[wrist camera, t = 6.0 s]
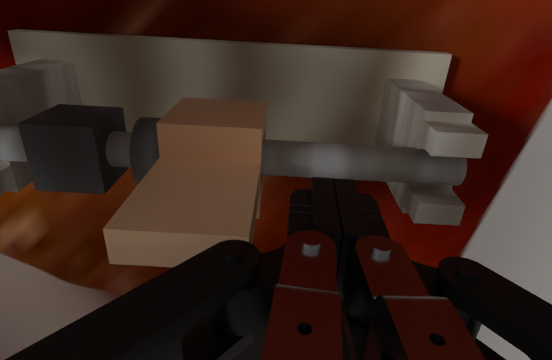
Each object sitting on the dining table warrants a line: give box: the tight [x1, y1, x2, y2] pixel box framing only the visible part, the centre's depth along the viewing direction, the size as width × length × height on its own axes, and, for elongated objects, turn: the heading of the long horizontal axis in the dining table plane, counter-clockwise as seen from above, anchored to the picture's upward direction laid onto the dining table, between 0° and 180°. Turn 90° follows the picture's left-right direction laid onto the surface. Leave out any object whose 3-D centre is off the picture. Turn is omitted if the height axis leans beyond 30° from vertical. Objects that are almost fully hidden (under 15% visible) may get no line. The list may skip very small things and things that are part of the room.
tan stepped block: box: [103, 97, 267, 267], centre depth 14 cm, size 4×4×9 cm
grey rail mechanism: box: [0, 29, 488, 226], centre depth 19 cm, size 26×8×10 cm, turn 87°
